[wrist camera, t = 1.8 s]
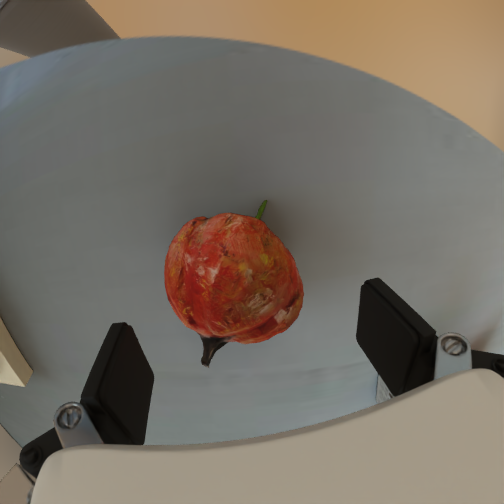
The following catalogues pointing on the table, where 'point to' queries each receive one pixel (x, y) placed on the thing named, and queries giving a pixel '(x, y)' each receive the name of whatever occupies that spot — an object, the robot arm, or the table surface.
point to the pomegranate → (232, 281)
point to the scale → (12, 361)
